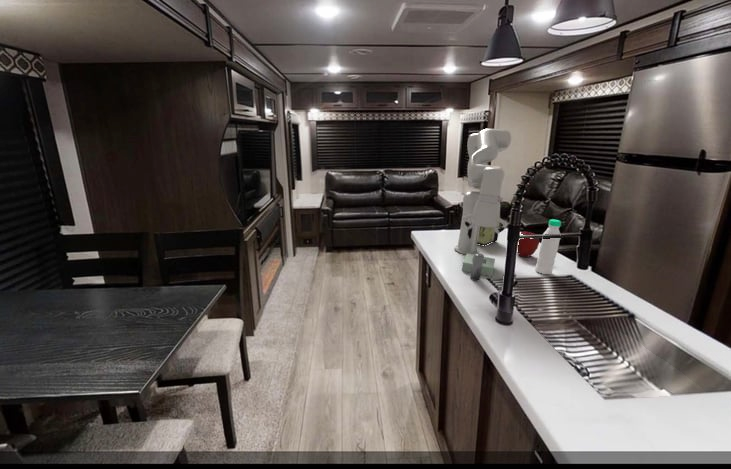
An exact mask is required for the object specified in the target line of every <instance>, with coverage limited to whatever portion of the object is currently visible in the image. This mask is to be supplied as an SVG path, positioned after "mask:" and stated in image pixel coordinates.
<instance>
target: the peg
mask: <svg viewBox="0 0 731 469" xmlns="http://www.w3.org/2000/svg"><path fill="white" fill-rule="evenodd" d="M484 257H485V254H482V253H480V252H479V253H475V254H474V258H473V264H472V270H471V272H470V276H469V277H470V278H469V279H470V280H471V281H474V282H479V281H480V280H481V275H482V274H481V270H482V265H483V259H484ZM478 280H479V281H478Z"/></svg>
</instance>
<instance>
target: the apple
mask: <svg viewBox="0 0 731 469" xmlns="http://www.w3.org/2000/svg"><path fill="white" fill-rule="evenodd" d="M520 232H521V234H523V235H537V234H536V233H534V232H530V231H525V230H524V231H520ZM539 244H540V238H539V239H530V238H524V239H520V240H519V245H518V253H517V254H518V255H519V256H521V257H524V256H525V257H526V258H527V257H528V256H529V257H530V256H533V255H534V254H535V252H536V251H537V250H538V247H539Z"/></svg>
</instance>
